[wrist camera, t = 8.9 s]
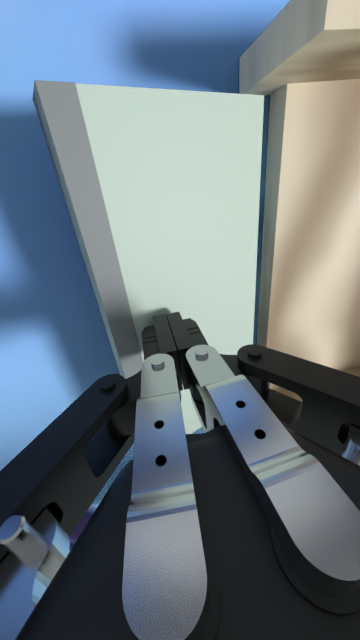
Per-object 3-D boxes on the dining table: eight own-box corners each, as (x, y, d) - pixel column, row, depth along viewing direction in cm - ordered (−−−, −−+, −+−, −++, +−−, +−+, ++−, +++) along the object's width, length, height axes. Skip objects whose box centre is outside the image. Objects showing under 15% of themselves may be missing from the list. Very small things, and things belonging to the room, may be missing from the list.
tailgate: (265, 94, 11) (34, 80, 7) (251, 395, 21) (150, 460, 17) (240, 105, 13) (32, 98, 8) (238, 385, 22) (141, 443, 18)
